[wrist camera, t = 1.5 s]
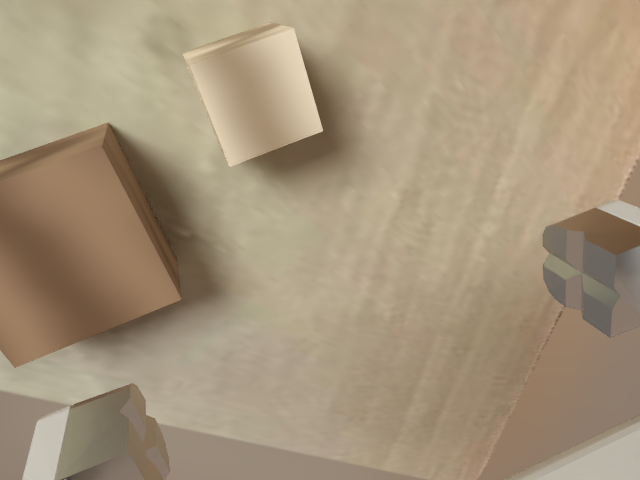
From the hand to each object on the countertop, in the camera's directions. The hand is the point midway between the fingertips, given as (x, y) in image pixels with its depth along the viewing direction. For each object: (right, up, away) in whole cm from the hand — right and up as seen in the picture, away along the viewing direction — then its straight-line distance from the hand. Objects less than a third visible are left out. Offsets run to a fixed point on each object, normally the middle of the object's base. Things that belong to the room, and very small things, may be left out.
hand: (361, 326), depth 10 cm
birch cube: (-5, +10, +19) cm, 22 cm away
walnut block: (-15, +3, +19) cm, 25 cm away
